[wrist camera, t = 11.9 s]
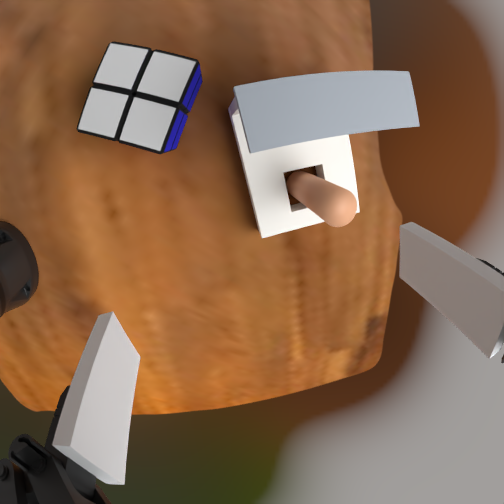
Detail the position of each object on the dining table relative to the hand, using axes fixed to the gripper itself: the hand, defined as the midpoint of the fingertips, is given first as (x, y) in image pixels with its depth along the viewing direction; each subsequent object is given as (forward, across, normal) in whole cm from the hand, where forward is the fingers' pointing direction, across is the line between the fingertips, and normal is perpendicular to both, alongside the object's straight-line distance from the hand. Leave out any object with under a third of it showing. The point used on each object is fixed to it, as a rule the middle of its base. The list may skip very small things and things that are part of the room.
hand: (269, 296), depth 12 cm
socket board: (+27, +10, +1) cm, 29 cm away
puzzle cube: (+28, -6, +13) cm, 31 cm away
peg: (+27, +10, -3) cm, 29 cm away
